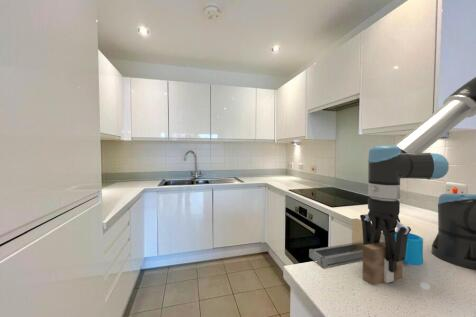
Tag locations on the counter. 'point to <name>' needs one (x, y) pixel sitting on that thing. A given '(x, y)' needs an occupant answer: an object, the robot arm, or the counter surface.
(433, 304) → the counter surface
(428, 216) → the counter surface
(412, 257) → the mug
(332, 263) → the door track
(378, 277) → the door panel
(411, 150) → the robot arm
